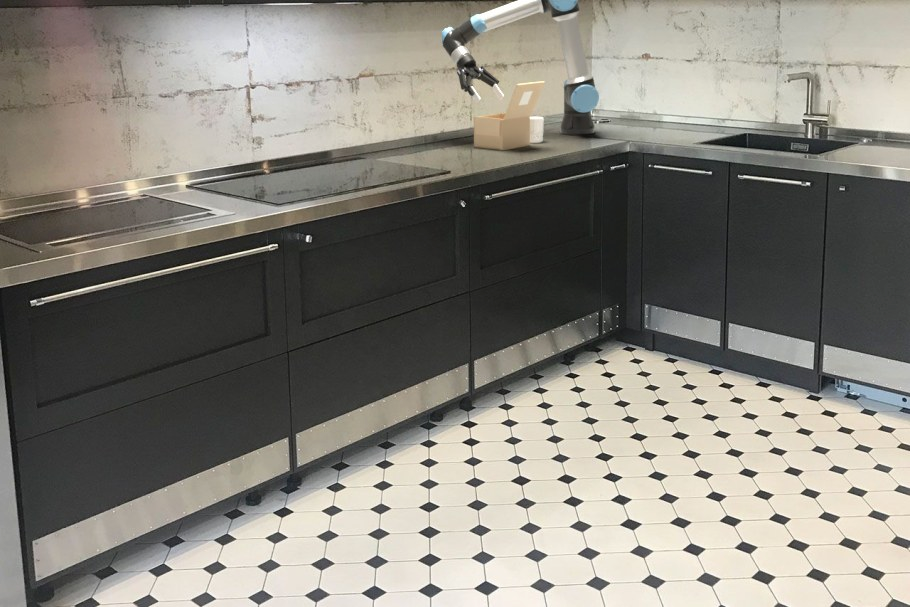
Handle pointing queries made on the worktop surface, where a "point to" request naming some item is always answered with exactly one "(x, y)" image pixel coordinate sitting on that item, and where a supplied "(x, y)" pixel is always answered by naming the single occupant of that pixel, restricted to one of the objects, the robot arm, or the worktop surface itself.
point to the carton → (501, 132)
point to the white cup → (536, 129)
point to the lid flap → (523, 100)
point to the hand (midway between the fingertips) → (490, 99)
